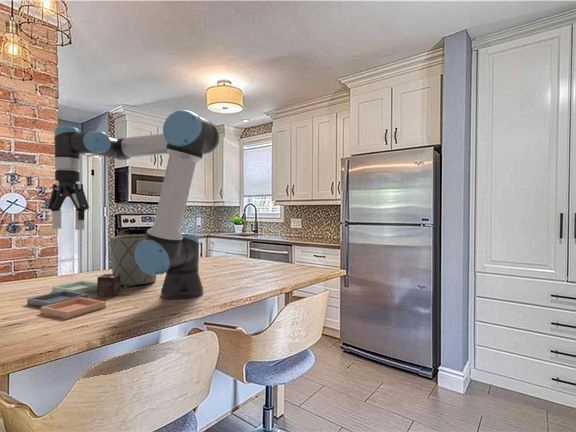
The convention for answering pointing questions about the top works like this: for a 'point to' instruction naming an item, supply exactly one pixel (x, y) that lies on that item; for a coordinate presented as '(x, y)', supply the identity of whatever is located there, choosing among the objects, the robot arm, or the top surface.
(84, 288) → the tray
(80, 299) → the tray
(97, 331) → the top surface
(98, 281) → the box
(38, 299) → the tray
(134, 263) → the planter
